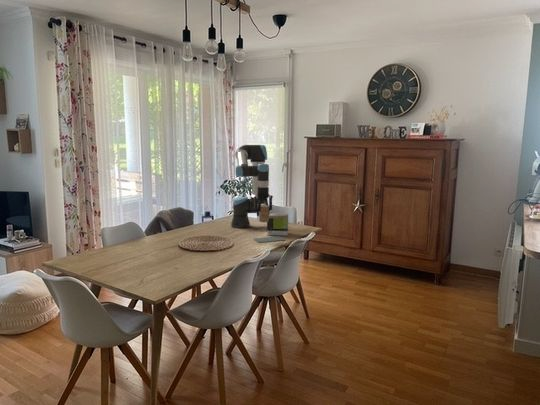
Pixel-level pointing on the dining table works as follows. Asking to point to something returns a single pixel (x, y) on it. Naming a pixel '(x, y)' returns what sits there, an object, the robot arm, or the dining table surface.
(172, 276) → the dining table surface
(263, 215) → the tan upright block
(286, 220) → the tea box
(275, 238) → the slate mat
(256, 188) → the robot arm
